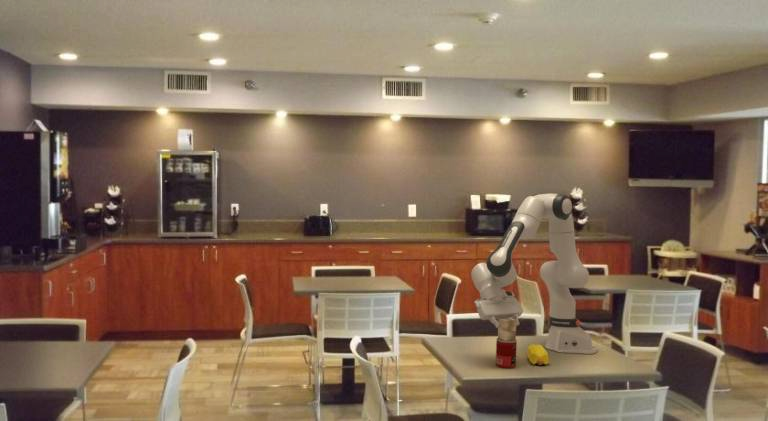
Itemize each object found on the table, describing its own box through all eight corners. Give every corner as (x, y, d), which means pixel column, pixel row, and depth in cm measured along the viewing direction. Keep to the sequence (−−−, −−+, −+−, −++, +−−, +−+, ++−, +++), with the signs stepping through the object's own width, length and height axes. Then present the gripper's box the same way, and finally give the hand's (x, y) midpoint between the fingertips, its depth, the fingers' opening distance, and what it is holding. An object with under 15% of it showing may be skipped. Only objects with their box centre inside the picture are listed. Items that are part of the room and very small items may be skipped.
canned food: (515, 369, 297) (516, 341, 297) (495, 367, 299) (496, 340, 299) (516, 364, 305) (516, 337, 304) (496, 363, 306) (497, 336, 306)
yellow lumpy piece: (543, 357, 320) (525, 356, 321) (544, 342, 320) (526, 341, 321) (550, 367, 302) (530, 366, 303) (550, 351, 302) (531, 350, 303)
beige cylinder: (507, 337, 305) (508, 317, 305) (515, 339, 301) (516, 319, 300) (497, 338, 302) (498, 318, 302) (505, 340, 298) (506, 320, 298)
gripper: (476, 294, 302) (491, 323, 294) (516, 292, 312) (531, 319, 304) (469, 304, 306) (483, 332, 298) (509, 301, 316) (523, 328, 308)
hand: (508, 325), depth 301 cm, fingers open, 8 cm apart
